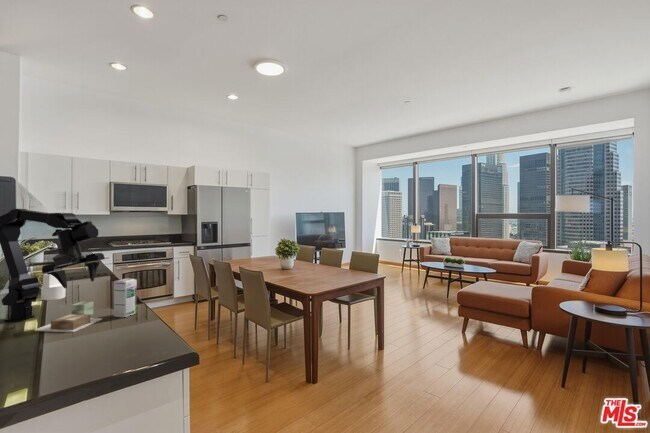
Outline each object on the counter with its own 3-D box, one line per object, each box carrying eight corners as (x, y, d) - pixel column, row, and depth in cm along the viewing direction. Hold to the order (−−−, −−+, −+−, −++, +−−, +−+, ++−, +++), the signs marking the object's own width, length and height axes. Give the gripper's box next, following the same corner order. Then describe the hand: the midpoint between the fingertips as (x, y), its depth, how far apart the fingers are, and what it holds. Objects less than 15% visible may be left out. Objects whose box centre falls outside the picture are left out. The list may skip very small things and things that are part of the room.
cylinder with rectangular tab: (54, 300, 150) (55, 274, 150) (35, 300, 150) (36, 274, 150) (70, 295, 159) (70, 271, 159) (52, 295, 159) (53, 271, 159)
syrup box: (125, 317, 127) (126, 281, 127) (112, 316, 129) (113, 280, 129) (136, 313, 133) (137, 278, 133) (124, 312, 134) (125, 278, 134)
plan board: (33, 331, 111) (34, 320, 111) (67, 318, 125) (67, 309, 125) (73, 332, 111) (73, 322, 111) (102, 319, 125) (102, 310, 125)
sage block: (71, 317, 127) (71, 304, 127) (81, 313, 132) (81, 301, 132) (83, 317, 126) (84, 305, 127) (93, 314, 132) (93, 301, 132)
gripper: (26, 252, 112) (36, 295, 112) (85, 238, 116) (95, 280, 115) (47, 251, 123) (56, 290, 122) (100, 238, 127) (109, 277, 126)
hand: (79, 284), depth 121 cm, fingers open, 9 cm apart
